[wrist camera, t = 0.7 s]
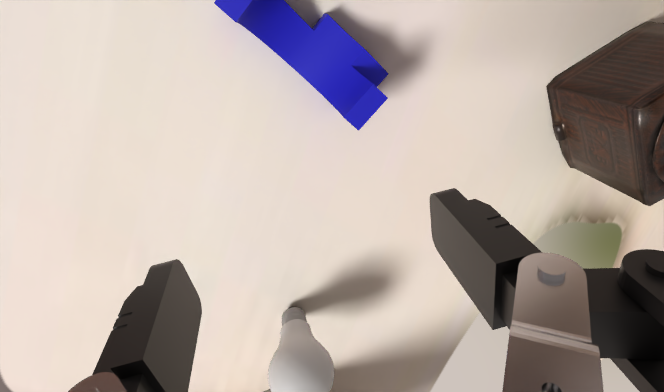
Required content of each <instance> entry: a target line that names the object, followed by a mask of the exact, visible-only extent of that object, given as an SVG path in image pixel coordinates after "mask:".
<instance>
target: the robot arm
mask: <svg viewBox="0 0 664 392" xmlns="http://www.w3.org/2000/svg"><path fill="white" fill-rule="evenodd" d="M430 213H431V228H432V237H433V241H434V244H435V247H436V249H437V251H438V252H439V254H440V255H441V257H442V258H443V260H444V261H445V262H446V264H447V265H448V267H449V268H450V270H451V271H452V272H453V274H454V275H455V277H456V278H457V280H458V281H459V282H460V284H461V285H462V287H463V288H464V290H465V291H466V292H467V294H468V295H469V297H470V298H471V300H472V301H473V302H474V304H475V305H476V307H477V308H478V310H479V311H480V312H481V314H482V315H483V317H484V318H485V319H486V321H487V322H488V324H489V325H490V327H491V328H492V329H493V330H494V329H498V328H501V327H505V326H507V327H508V328H509V329H510V335H509V343H508V351H507V359H506V367H505V375H504V384H503V392H603V382H602V372H601V361H600V358H610V359H611V360H612V361H613V362H614V363H615V364H616V365H617V367H618V368H619V369H620V370H621V371H622V372H623V373H624V374H625V376H626V377H627V378H628V379H629V380H630V381H631V382H632V383H633V385H634V386H635V387H636V388H637V389H638V390H639V391H640V392H664V251H658V250H647V249H646V250H636V251H632V252H630V253H628V254H626V255H625V256H624V258H623V260H622V263H621V267H620V268H600V269H582V267H581V266H579V265H578V264H577V263H576V262H574V261H573V260H571V259H569V258H567V257H564V256H561V255H558V254H553V253H542V252H541V251H540V250H539V249H538V248H537V247H536V246H534V245H533V244H532V243H531V242H530V241H529V240H528V239H527V238H526V237H525V236H523V235H522V234H521V233H520V232H519V231H518V230H517V229H516V228H515V227H513V226H512V225H510V224H509V222H508V221H507V220H506V219H505V218H504V217H501V215H500V214H499V213H498V212H497V211H496V210H495V209H494V208H492V207H491V206H490V205H488V204H486V203H483V202H481V201H479V200H476V199H473V200H469V201H468V200H467V199H466V198H465V197H464V196H463V195H462V194H461V193H460V192H459V191H458V190H457V189H455V188H453V189H449V190H445V191H441V192H437V193H433V194H431V195H430ZM201 314H202V308H201V302H200V298H199V295H198V293H197V291H196V289H195V287H194V286H193V284H192V282H191V280H190V278H189V276H188V274H187V272H186V270H185V268H184V266H183V264H182V263H181V262H180V261H179V260H177V259H176V260H172V261H169V262H165V263H161V264H157V265H153V266H151V267H150V269H149V272H148V274H147V277H146V279H145V282H144V284H143V285H142V286H138V287H136V289H135V290H134V291H133V292H132V293H131V294H130V295H129V297H128V298H127V299H126V300H125V301H124V304H123V306H122V308H121V311H120V313H119V315H118V316H119V318H117V320H116V322H115V324H114V326H113V331H111V333H110V336H109V338H108V340H107V342H106V345H105V347H104V349H103V352H102V354H101V356H100V358H99V361H98V363H97V365H96V368H95V370H94V372H93V374H92V376H89V377H87V378H86V379H84V380H82V381H81V382H79V383H78V384H76V385H75V386H74V387H73V388H71V389H70V390H69V391H68V392H188V388H189V382H190V376H191V371H192V365H193V359H194V354H195V348H196V343H197V337H198V331H199V326H200V320H201Z"/></svg>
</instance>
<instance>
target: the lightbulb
mask: <svg viewBox="0 0 664 392" xmlns="http://www.w3.org/2000/svg"><path fill="white" fill-rule="evenodd" d="M333 381H334V365H333V361H332V359H331V357H330V355H329V353H328V351H327V350H326V349H325V348H324V347H323V346H322V345H321V344H320V343H319V342H318V341H317V340H316V339H315V338H314V336H313V335H312V332H311V329H310V326H309V324H308V323H307V321H306V317H305V313H304V311H303V310H302V309H300V308H298V307H292V308H289V309H287V310H286V311H285V312H284V313H283V315H282V328H281V332H280V344H279V347H278V348H277V350H276V352H275V353H274V355H273V358H272V360H271V362H270V365H269V370H268V383H269V386H270V390H271V392H330V390H331V388H332V386H333Z"/></svg>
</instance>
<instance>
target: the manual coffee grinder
mask: <svg viewBox="0 0 664 392" xmlns="http://www.w3.org/2000/svg"><path fill="white" fill-rule="evenodd" d="M547 92H548V98H549V103H550V109H551V115H552V122H553V129H554V133H555V136H556V139H557V140H558V141H559V144H560V148H561V151H562V154H563V156H564V158H565V160H566V161H567V163H568V165H569V167H570V168H575V169H577V170H579V171H581V172H583V173H585V174H587V175H589V176H591V177H593V178H595V179H597V180H599V181H601V182H603V183H605V184H606V185H608V186H610V187H612V188H614V189H616V190H618V191H620V192H622V193H624V194H626V195H628V196H630V197H632V198H634V199H636V200H638V201H640V202H641V203H643V204H645V205H648V206H651V205H653V204H655V203H656V202H658V201H660V200H662V199H664V23H654V22H646V23H644V24H642V25H640V26H638V27H636V28H634V29H632V30H630V31H628V32H626V33H625V34H623V35H621V36H620V37H618V38H617V39H615V40H613V41H612V42H610V43H609V44H607V45H605V46H604V47H602V48H600V49H599V50H597V51H596V52H594V53H592V54H591V55H589V56H588V57H586V58H584V59H583V60H581V61H580V62H578V63H576V64H575V65H573V66H572V67H570V68H568V69H567V70H565V71H564V72H562V73H561V74H559V75H558V76H556V77H555V78H554V79H553V80H552V81H551V82H550V83H549V84H548V85H547Z"/></svg>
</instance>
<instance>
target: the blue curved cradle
mask: <svg viewBox="0 0 664 392" xmlns="http://www.w3.org/2000/svg"><path fill="white" fill-rule="evenodd" d="M214 3H215V4H216V5H217V6H218V7H219V8H220V9H221V10H222V11H224V12H225V13H226V14H227V15H228V16H229V17H230V18H232V19H233V20H234V21H235V22H237V23H239V24H241V25H242V26H244V27H245V28H246V29H248V30H249V31H250V32H251V33H253V34H254V35H255V36H256V37H258V38H259V39H260V40H261V41H263V42H264V43H265V44H266V45H267V46H269V47H270V48H271V49H272V50H273V51H274V52H276V53H277V54H278V55H279V56H280V57H281V58H282V59H284V60H285V61H286V62H287V63H288V64H289V65H290V66H291V67H293V68H294V69H295V70H296V71H297V72H298V73H299V74H300V75H301V76H302V77H304V78H305V79H306V80H307V81H308V82H309V83H310V84H311V85H312V86H313V87H314V88H315V89H316V90H317V91H319V92H320V93H321V94H322V95H323V96H324V97H325V98H326V99H327V100H328V101H329V102H330V103H331V104H332V105H333V106H334V107H335V108H336V109H337V110H338V111H339V113H340V114H341V115H342V116H343V117H344V118H345V119H346V120H347V121H348V122H350V123H351V124H352V125H353V126H354V127H355V128H356V129H357V130H359V129H360V128H361V127H362V126H363V125H364V124H365V123H366V122H367V121H368V120H369V118H370V117H371V116H372V115H373V114H374V113H375V112H376V111H377V110H378V108H379V107H380V106H381V105H382V104H383V103H384V102H385V101H386V100H387V97H386V96H385V95H384V94H383V93H382V92H381V91H380V90H379V89H378V88H377V86H378V85H379V84H380V83H381V82H382V81H383V80H384V78H385V77H386V76H387V75H388V73H387V72H386V70H385V69H384V68H383V67H382V66H381V65H380V64H379V63H378V62H377V61H376V60H375V59H374V58H373V57H372V56H371V55H370V54H369V53H368V52H367V51H366V50H365V49H364V48H363V47H362V46H361V45H360V44H358V43H357V42H356V41H355V40H354V39H353V38H352V37H351V36H350V35H349V34H347V33H346V32H345V31H344V30H343V29H342V28H341V27H340V26H339V25H338V24H337V23H336V22H335V21H334V20H333V19H332V18H331V17H330V16H329V15H328V14H325V13H324V14H323V16H322V17H321V18H320V19H319V21H318V22H317V23H316V24H315V26H314V27H313V28H311V27H310V26H309V25H308V24H307V23H306V22H305V21H304V20H303V19H302V18H301V17H300V16H299V15H298V14H297V13H296V12H295V11H294V10H293V9H292V8H291V7H290V6H289V5H288V4H287V3H286V2H285V1H284V0H216V1H215V2H214Z"/></svg>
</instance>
